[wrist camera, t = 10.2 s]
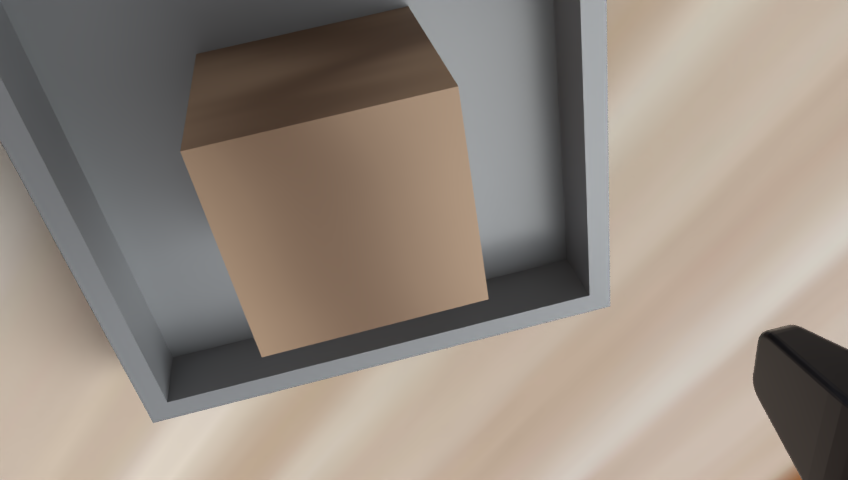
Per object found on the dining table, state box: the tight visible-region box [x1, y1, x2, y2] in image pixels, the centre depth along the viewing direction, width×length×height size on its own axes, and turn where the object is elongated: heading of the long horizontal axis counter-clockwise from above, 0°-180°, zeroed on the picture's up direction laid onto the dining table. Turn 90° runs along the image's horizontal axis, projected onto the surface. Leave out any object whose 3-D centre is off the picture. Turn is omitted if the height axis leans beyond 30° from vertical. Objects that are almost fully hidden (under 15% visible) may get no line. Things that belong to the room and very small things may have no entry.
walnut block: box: [180, 6, 489, 357], centre depth 17 cm, size 5×5×5 cm
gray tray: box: [0, 0, 610, 423], centre depth 18 cm, size 13×13×2 cm
